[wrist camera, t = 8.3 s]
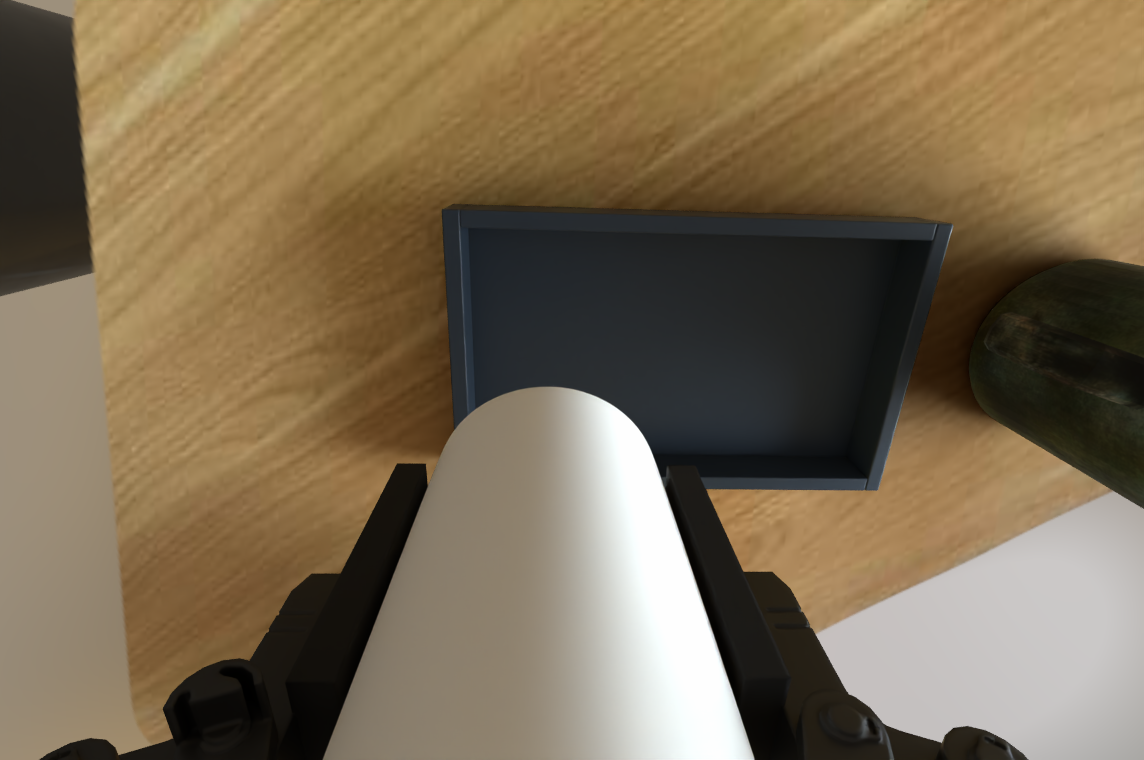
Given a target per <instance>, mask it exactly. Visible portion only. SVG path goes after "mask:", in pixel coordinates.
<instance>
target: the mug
mask: <svg viewBox="0 0 1144 760" xmlns="http://www.w3.org/2000/svg"><path fill="white" fill-rule="evenodd" d="M969 375H970V380H971V386H972V390H973V393H974V395H975V398H976V400H977V402H978V403H979V405H980V406H981V408H982V409H983V410H984V411H985V412H986V413H987V414H988V415H989V416H990V417H992V418H993V419H995V420H996V421H998V422H999V423H1001V424H1003V425H1004V426H1006V427H1008V428H1009V429H1011V430H1013V431H1014V432H1016V433H1018V434H1019V435H1021V436H1023V437H1024V438H1026V439H1028V440H1029V441H1031V442H1033V443H1034V444H1036V445H1038V446H1039V447H1041V448H1043V449H1044V450H1046V451H1048V452H1049V453H1051V454H1053V455H1054V456H1056V457H1058V458H1059V459H1061V460H1063V461H1065V462H1066V463H1068V464H1070V465H1071V466H1073V467H1075V468H1076V469H1078V470H1080V471H1081V472H1083V473H1085V474H1086V475H1088V476H1090V477H1091V478H1093V479H1095V480H1096V481H1098V482H1100V483H1101V484H1103V485H1105V486H1106V487H1108V488H1110V489H1111V490H1113V491H1115V492H1116V493H1118V494H1120V495H1121V496H1123V497H1125V498H1126V499H1128V500H1130V501H1131V502H1133V503H1135V504H1137V505H1138V506H1140V507H1142V508H1143V509H1144V266H1139V265H1134V264H1129V263H1123V262H1118V261H1112V260H1103V259H1087V260H1078V261H1073V262H1069V263H1065V264H1062V265H1059V266H1056V267H1053V268H1051V269H1048V270H1046V271H1044V272H1041V273H1039V274H1037V275H1035V276H1033V277H1031V278H1030V279H1028V280H1026V281H1024V282H1023V283H1021V284H1020V285H1018V286H1017V287H1016V288H1014V289H1013V290H1012V291H1010V292H1009V293H1008V294H1007V295H1006V296H1005V297H1003V298H1002V299H1001V300H1000V301H999V303H998V304H997V305H996V306H995V307H994V308H993V309H992V310H991V311H990V313H989V314H988V316H987V317H986V319H985V320H984V321H983V323H982V325H981V327H980V329H979V330H978V332H977V334H976V337H975V339H974V342H973V345H972V348H971V353H970V358H969Z"/></svg>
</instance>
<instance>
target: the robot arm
mask: <svg viewBox="0 0 1144 760" xmlns="http://www.w3.org/2000/svg"><path fill="white" fill-rule="evenodd" d="M427 488H428V484H427V472H426V464H399V463H397V465H396V467H395V469H394V471H393V473H392V474H391V476H390V478H389V480H388V482H387V484H386V486H385V488H384V490H383V492H382V494H381V496H380V498H379V500H378V502H377V504H376V506H375V508H374V510H373V511H372V513H371V515H370V517H369V519H368V521H367V523H366V525H365V527H364V529H363V531H362V533H361V535H360V537H359V539H358V541H357V543H356V545H355V547H354V549H353V550H352V552H351V554H350V556H349V558H348V560H347V562H346V564H345V566H344V568H343V570H342V572H341V574H311V575H310V576H309V577H307V578H306V579H305V580H304V581H303V582H302V583H300V584H299V585H298V586H297V587H296V588H295V589H293V590H292V591H291V593H290V595H289V596H288V598H287V600H286V601H285V603H284V604H283V606H282V608H281V609H280V611H279V615H277V616H276V618H275V619H274V621H273V623H272V624H271V626H270V628H269V632H267V633H266V634H265V636H264V638H263V639H262V641H261V642H260V644H259V646H258V647H257V649H256V651H255V652H254V654H253V656H252V657H251V659H250V661H248V660H244V659H240V658H239V659H230V660H222V661H220V662H217V663H214V664H211V665H209V666H206V667H204V668H202V669H201V670H199V671H197V672H196V673H194V674H193V675H191V676H189V677H188V678H186V679H185V680H184V681H183V682H182V683H181V684H180V685H179V686H178V687H177V688H176V689H175V690H174V691H173V692H172V693H171V695H170V696H169V698H168V700H167V702H166V704H165V705H164V707H163V711H164V714H165V717H166V720H167V722H168V725H169V728H170V730H171V733H172V736H173V739H171V740H168V741H165V742H162V743H159V744H155V745H152V746H149V747H145V748H142V749H138V750H135V751H131V752H128V753H125V754H121V755H118V753H117V751H116V748H115V747H114V746H113V745H111V744H110V743H109V742H108V741H107V740H103V739H92V738H89V739H85V740H81V741H77V742H73V743H69V744H67V745H65V746H63V747H61V748H59V749H57V750H55V751H53V752H51V753H48V754H47V755H46V756H44V757H43V758H41V759H40V760H323V758H324V755H325V752H326V750H327V747H328V744H329V742H330V739H331V736H332V734H333V731H334V729H335V726H336V723H337V721H338V718H339V715H340V713H341V710H342V708H343V705H344V702H345V700H346V697H347V695H348V692H349V689H350V687H351V684H352V681H353V679H354V676H355V674H356V671H357V668H358V666H359V663H360V661H361V658H362V655H363V653H364V650H365V647H366V645H367V642H368V640H369V637H370V634H371V632H372V629H373V627H374V624H375V621H376V619H377V616H378V614H379V611H380V609H381V606H382V603H383V601H384V598H385V596H386V593H387V590H388V588H389V585H390V583H391V580H392V577H393V575H394V572H395V570H396V567H397V564H398V562H399V559H400V557H401V554H402V552H403V549H404V546H405V544H406V541H407V539H408V536H409V534H410V531H411V528H412V526H413V523H414V521H415V518H416V516H417V513H418V510H419V508H420V505H421V503H422V500H423V498H424V495H425V493H426V490H427ZM665 491H666V494H667V497H668V500H669V503H670V506H671V509H672V512H673V514H674V517H675V520H676V523H677V526H678V529H679V532H680V535H681V538H682V541H683V544H684V547H685V550H686V553H687V556H688V559H689V562H690V565H691V568H692V571H693V574H694V577H695V580H696V583H697V586H698V589H699V592H700V595H701V598H702V601H703V604H704V607H705V610H706V613H707V616H708V619H709V622H710V625H711V628H712V631H713V634H714V637H715V640H716V643H717V646H718V649H719V652H720V655H721V658H722V661H723V664H724V667H725V670H726V673H727V677H728V680H729V683H730V686H731V689H732V692H733V695H734V698H735V701H736V704H737V707H738V710H739V713H740V716H741V719H742V722H743V725H744V728H745V731H746V734H747V737H748V740H749V743H750V747H751V750H752V753H753V756H754V759H755V760H1028V759H1027V758H1026V757H1025V755H1024V754H1023V753H1021V752H1020V751H1019V750H1017V749H1016V748H1015V747H1013V746H1012V745H1011V744H1009V743H1008V742H1007V741H1005V740H1004V739H1002V738H1000V737H998V736H996V735H994V734H992V733H990V732H988V731H985V730H982V729H977V728H973V727H969V726H965V727H957V728H953V729H952V730H951V731H950V732H948V733H947V734H946V735H945V737H944V739H943V742H942V743H940V742H937V741H934V740H930V739H926V738H923V737H920V736H916V735H913V734H909V733H905V732H902V731H899V730H897V729H894V728H891V727H889V726H886V725H885V724H883V723H882V721H881V720H880V719H879V718H878V717H877V715H876V714H875V713H874V712H873V711H872V709H871V708H870V707H868V706H867V705H865V704H864V703H863V702H861V701H860V700H858V699H857V698H856V697H854V696H852V695H849V694H848V692H847V691H846V689H845V688H844V686H843V684H842V683H841V680H840V679H839V677H838V675H837V673H836V671H835V670H834V668H833V666H832V664H831V662H830V660H829V658H828V657H827V655H826V653H825V651H824V649H823V647H822V646H821V644H820V642H819V640H818V638H817V636H816V635H815V633H814V631H813V629H812V628H810V624H809V622H808V620H807V618H806V616H805V615H804V613H803V612H801V607H800V605H799V604H798V602H797V600H796V598H795V596H794V594H793V593H792V591H791V589H790V588H789V587H788V586H787V585H786V584H785V583H784V582H783V581H782V580H780V579H779V578H778V577H777V576H776V575H775V574H774V573H773V572H743V570H742V568H741V566H740V564H739V561H738V559H737V557H736V555H735V553H734V550H733V548H732V546H731V544H730V542H729V539H728V537H727V535H726V533H725V530H724V528H723V526H722V524H721V522H720V519H719V517H718V515H717V513H716V511H715V508H714V506H713V504H712V502H711V500H710V497H709V495H708V493H707V491H706V489H705V486H704V484H703V482H702V480H701V478H700V475H699V473H698V471H697V469H696V467H695V465H667V473H666V483H665Z"/></svg>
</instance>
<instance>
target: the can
mask: <svg viewBox="0 0 1144 760" xmlns="http://www.w3.org/2000/svg"><path fill="white" fill-rule="evenodd" d="M323 760H755V759H754V756H753V753H752V750H751V747H750V743H749V740H748V737H747V734H746V731H745V728H744V725H743V722H742V719H741V716H740V713H739V710H738V707H737V704H736V701H735V698H734V695H733V692H732V689H731V686H730V683H729V680H728V677H727V673H726V670H725V667H724V664H723V661H722V658H721V655H720V652H719V649H718V646H717V643H716V640H715V637H714V634H713V631H712V628H711V625H710V622H709V619H708V616H707V613H706V610H705V607H704V604H703V601H702V598H701V595H700V592H699V589H698V586H697V583H696V580H695V577H694V574H693V571H692V568H691V565H690V562H689V559H688V556H687V553H686V550H685V547H684V544H683V541H682V538H681V535H680V532H679V529H678V526H677V523H676V520H675V517H674V514H673V512H672V509H671V506H670V503H669V500H668V497H667V494H666V491H665V488H664V485H663V482H662V479H661V476H660V474H659V471H658V468H657V465H656V462H655V460H654V457H653V455H652V452H651V450H650V447H649V445H648V443H647V442H646V440H645V438H644V436H643V435H642V433H641V432H640V430H639V429H638V428H637V427H636V425H635V424H634V423H633V422H632V421H631V420H630V419H629V418H628V417H627V416H626V415H625V414H624V413H622V412H621V411H620V410H619V409H617V408H616V407H614V406H613V405H611V404H610V403H608V402H606V401H604V400H602V399H600V398H598V397H596V396H593V395H591V394H588V393H585V392H581V391H578V390H574V389H568V388H561V387H533V388H526V389H521V390H516V391H513V392H509V393H506V394H503V395H501V396H498V397H496V398H494V399H492V400H490V401H488V402H486V403H484V404H483V405H481V406H480V407H478V408H477V409H475V410H474V411H473V412H471V413H470V414H469V415H468V416H467V417H466V418H465V419H464V420H463V421H462V422H461V423H460V424H459V425H458V426H457V428H456V429H455V430H454V432H453V433H452V434H451V436H450V438H449V439H448V441H447V443H446V445H445V447H444V449H443V451H442V453H441V455H440V458H439V460H438V463H437V465H436V467H435V470H434V472H433V475H432V477H431V480H430V482H429V485H428V488H427V490H426V493H425V495H424V498H423V500H422V503H421V505H420V508H419V510H418V513H417V516H416V518H415V521H414V523H413V526H412V528H411V531H410V534H409V536H408V539H407V541H406V544H405V546H404V549H403V552H402V554H401V557H400V559H399V562H398V564H397V567H396V570H395V572H394V575H393V577H392V580H391V583H390V585H389V588H388V590H387V593H386V596H385V598H384V601H383V603H382V606H381V609H380V611H379V614H378V616H377V619H376V621H375V624H374V627H373V629H372V632H371V634H370V637H369V640H368V642H367V645H366V647H365V650H364V653H363V655H362V658H361V661H360V663H359V666H358V668H357V671H356V674H355V676H354V679H353V681H352V684H351V687H350V689H349V692H348V695H347V697H346V700H345V702H344V705H343V708H342V710H341V713H340V715H339V718H338V721H337V723H336V726H335V729H334V731H333V734H332V736H331V739H330V742H329V744H328V747H327V750H326V752H325V755H324V758H323Z"/></svg>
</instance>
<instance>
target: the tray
mask: <svg viewBox="0 0 1144 760" xmlns="http://www.w3.org/2000/svg"><path fill="white" fill-rule="evenodd" d="M442 226H443V243H444V260H445V278H446V295H447V313H448V330H449V348H450V365H451V383H452V400H453V418H454V430H455V429H456V428H457V426H458V425H459V424H460V423H461V422H462V421H463V420H464V419H465V418H466V417H467V416H468V415H469V414H470V413H471V412H473V411H474V410H475V409H477V408H478V407H480V406H481V405H483V404H484V403H486V402H488V401H490V400H492V399H494V398H496V397H498V396H501V395H503V394H506V393H509V392H513V391H516V390H521V389H526V388H533V387H561V388H568V389H574V390H578V391H581V392H585V393H588V394H591V395H593V396H596V397H598V398H600V399H602V400H604V401H606V402H608V403H610V404H611V405H613V406H614V407H616V408H617V409H619V410H620V411H621V412H622V413H624V414H625V415H626V416H627V417H628V418H629V419H630V420H631V421H632V422H633V423H634V424H635V425H636V427H637V428H638V429H639V430H640V432H641V433H642V435H643V436H644V438H645V440H646V442H647V443H648V445H649V447H650V450H651V452H652V455H653V457H654V460H655V462H656V465H657V468H658V471H659V474H660V476H661V479H662V482H663V485H664V488H665V483H666V473H667V465H695V467H696V469H697V471H698V473H699V475H700V478H701V480H702V482H703V484H704V486H705V489H761V490H878V488H879V485H880V481H881V478H882V474H883V471H884V467H885V464H886V460H887V457H888V453H889V450H890V446H891V443H892V439H893V436H894V432H895V429H896V425H897V422H898V418H899V415H900V411H901V408H902V404H903V401H904V397H905V394H906V390H907V387H908V383H909V380H910V376H911V372H912V369H913V365H914V362H915V358H916V355H917V351H918V348H919V344H920V341H921V337H922V334H923V330H924V327H925V323H926V320H927V316H928V313H929V309H930V306H931V302H932V299H933V295H934V292H935V288H936V285H937V281H938V278H939V274H940V271H941V267H942V264H943V260H944V257H945V253H946V250H947V246H948V242H949V239H950V235H951V232H952V228H953V224H951V223H945V222H940V221H934V220H928V219H922V218H916V217H883V216H849V215H815V214H781V213H746V212H712V211H678V210H643V209H609V208H575V207H540V206H506V205H472V204H452V205H450V206H448V207H446V208H444V209H442Z"/></svg>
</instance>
